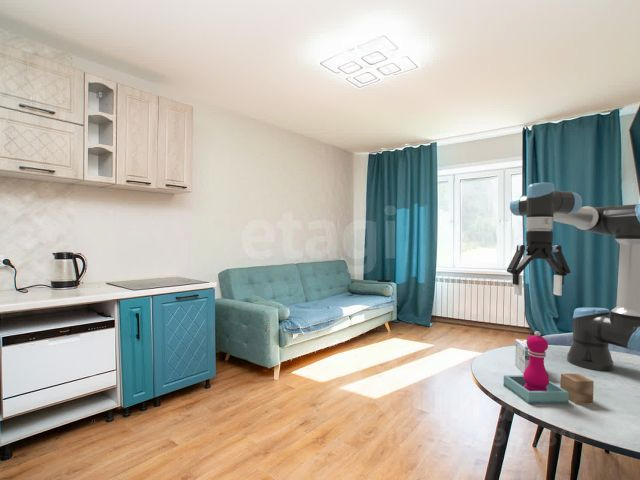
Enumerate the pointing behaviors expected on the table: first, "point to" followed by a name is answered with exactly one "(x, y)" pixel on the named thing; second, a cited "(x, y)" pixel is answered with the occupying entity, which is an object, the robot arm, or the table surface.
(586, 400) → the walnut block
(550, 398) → the tray
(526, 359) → the light bulb box
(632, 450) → the table surface
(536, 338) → the pepper mill
